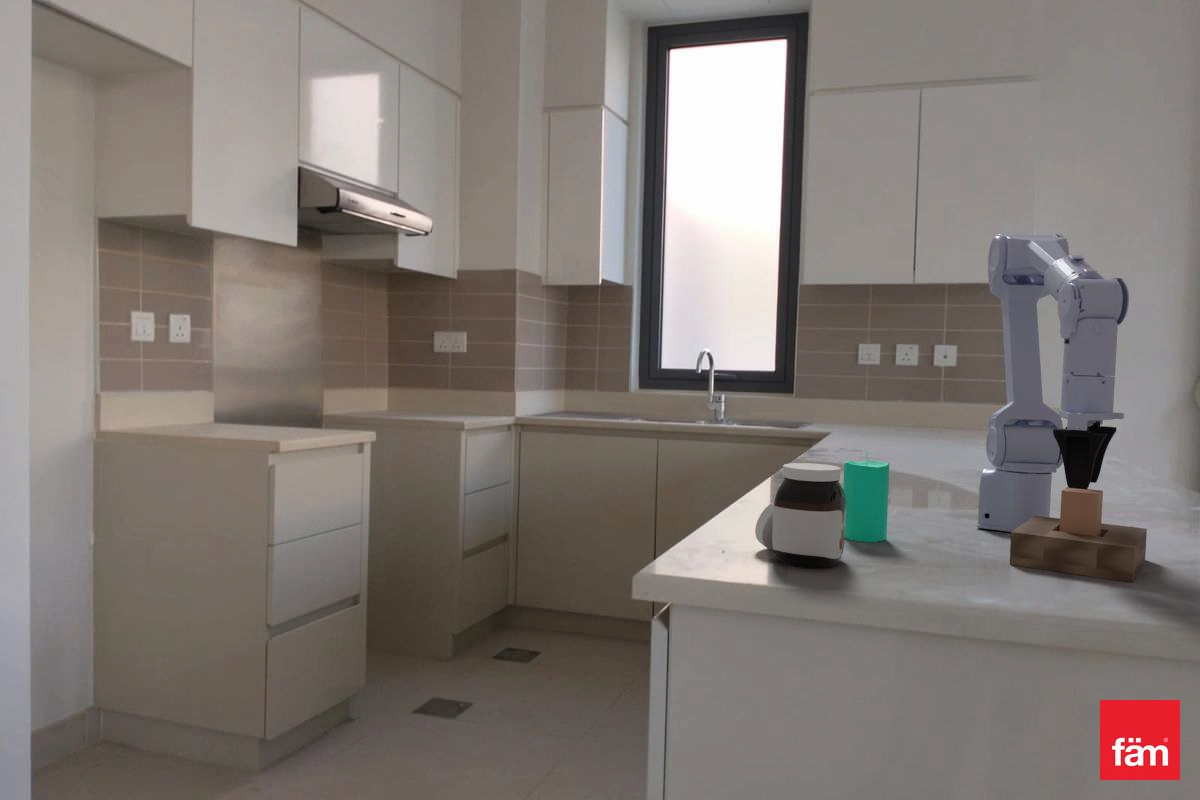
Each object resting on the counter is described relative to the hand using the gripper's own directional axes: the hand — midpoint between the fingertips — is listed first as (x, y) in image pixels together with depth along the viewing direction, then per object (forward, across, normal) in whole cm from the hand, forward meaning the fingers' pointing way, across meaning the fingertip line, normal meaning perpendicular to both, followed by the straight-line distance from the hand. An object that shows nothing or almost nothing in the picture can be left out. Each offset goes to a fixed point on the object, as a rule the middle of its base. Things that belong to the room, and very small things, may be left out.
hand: (1082, 485), depth 110 cm
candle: (+10, -4, +26) cm, 28 cm away
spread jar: (+10, -22, +28) cm, 37 cm away
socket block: (+10, 0, 0) cm, 10 cm away
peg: (+9, 0, 0) cm, 9 cm away
